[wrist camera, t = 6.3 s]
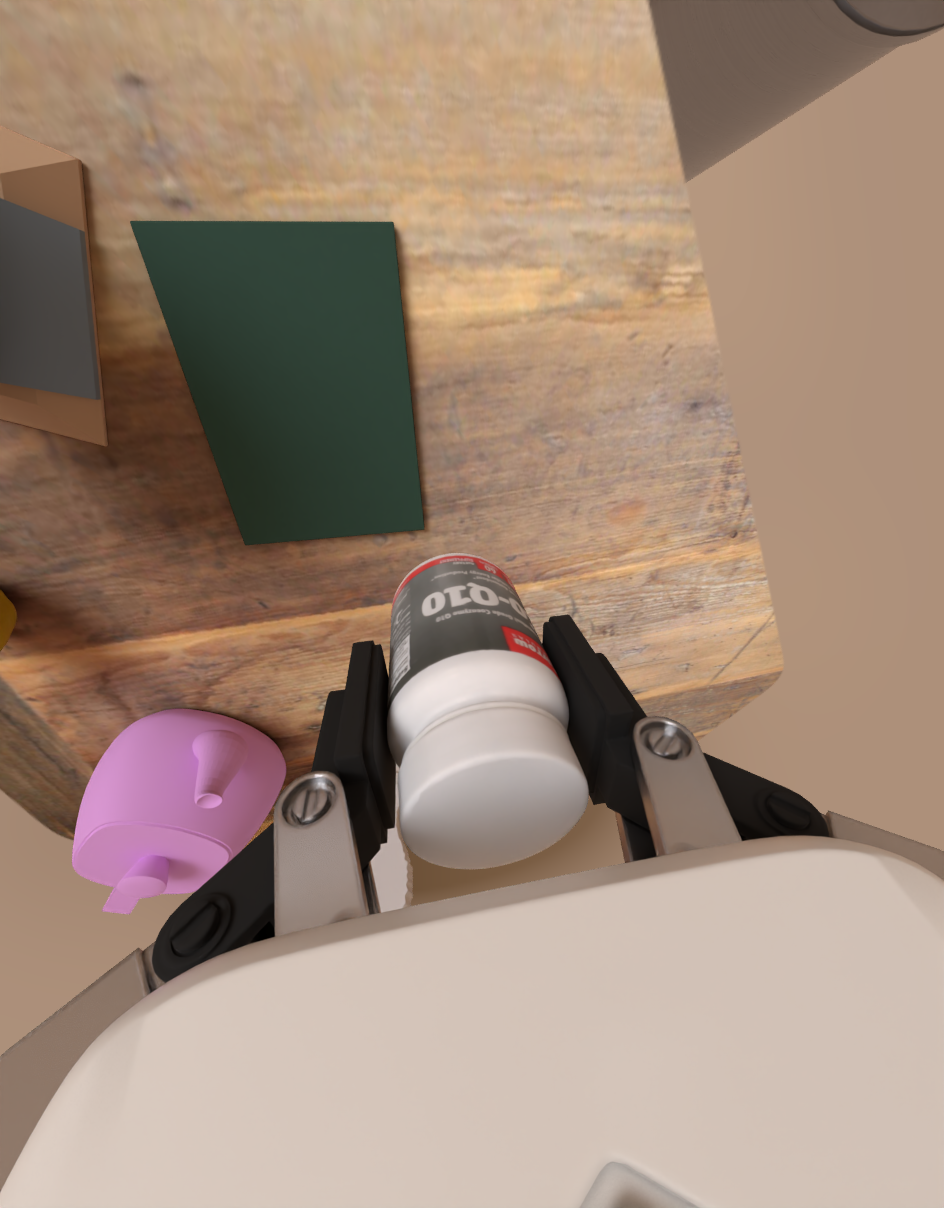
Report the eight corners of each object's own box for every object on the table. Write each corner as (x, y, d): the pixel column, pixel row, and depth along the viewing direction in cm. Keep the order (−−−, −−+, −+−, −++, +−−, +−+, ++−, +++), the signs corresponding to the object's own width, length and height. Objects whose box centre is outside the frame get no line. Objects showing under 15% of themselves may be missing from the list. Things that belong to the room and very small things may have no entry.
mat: (135, 224, 19) (128, 220, 18) (393, 224, 20) (393, 221, 19) (247, 542, 27) (244, 545, 26) (424, 527, 28) (424, 529, 28)
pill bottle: (531, 562, 15) (652, 747, 8) (493, 661, 17) (561, 875, 10) (403, 537, 13) (408, 730, 6) (381, 647, 16) (366, 882, 9)
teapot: (337, 707, 35) (315, 830, 26) (235, 826, 42) (188, 960, 32) (177, 640, 30) (74, 767, 20) (86, 789, 36) (-25, 940, 26)
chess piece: (303, 769, 39) (257, 965, 26) (396, 736, 39) (395, 917, 26) (351, 819, 44) (332, 1002, 31) (433, 790, 44) (447, 963, 31)
